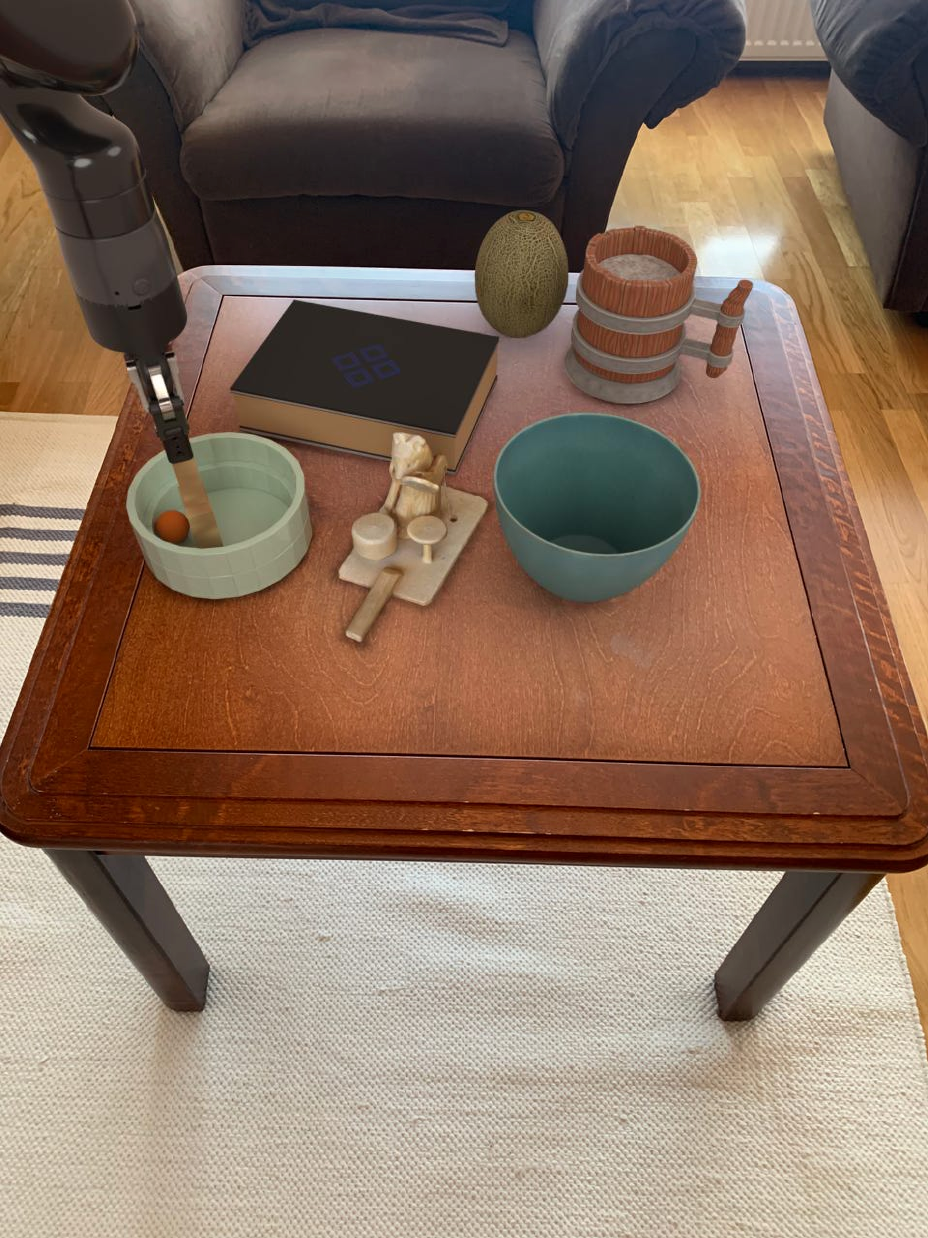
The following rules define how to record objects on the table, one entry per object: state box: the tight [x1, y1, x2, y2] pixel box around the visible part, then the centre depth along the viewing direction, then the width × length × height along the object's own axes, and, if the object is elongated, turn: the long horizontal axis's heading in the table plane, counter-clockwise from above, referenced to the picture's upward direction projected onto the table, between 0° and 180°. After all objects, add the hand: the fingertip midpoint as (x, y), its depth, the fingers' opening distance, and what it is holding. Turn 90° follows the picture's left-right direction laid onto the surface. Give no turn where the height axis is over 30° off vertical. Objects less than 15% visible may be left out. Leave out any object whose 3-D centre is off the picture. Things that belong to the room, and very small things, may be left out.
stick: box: [172, 456, 223, 549], centre depth 84 cm, size 2×4×16 cm, turn 23°
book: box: [229, 299, 500, 477], centre depth 103 cm, size 17×25×7 cm
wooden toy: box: [337, 431, 489, 643], centre depth 86 cm, size 22×10×14 cm, turn 155°
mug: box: [563, 224, 754, 405], centre depth 104 cm, size 14×19×15 cm
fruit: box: [474, 209, 570, 339], centre depth 110 cm, size 11×11×15 cm
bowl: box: [125, 431, 313, 600], centre depth 90 cm, size 17×17×7 cm
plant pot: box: [492, 412, 702, 604], centre depth 86 cm, size 18×18×12 cm
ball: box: [156, 510, 190, 543], centre depth 90 cm, size 3×3×3 cm
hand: (178, 449), depth 82 cm, fingers closed on stick, 2 cm apart
